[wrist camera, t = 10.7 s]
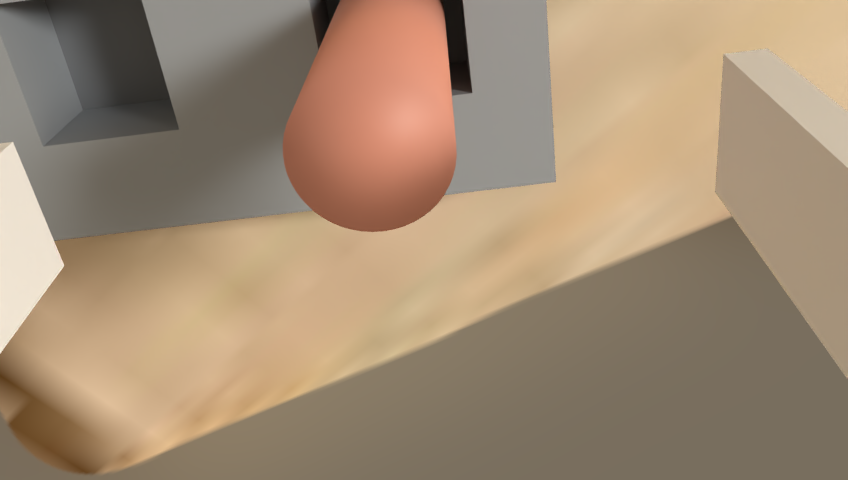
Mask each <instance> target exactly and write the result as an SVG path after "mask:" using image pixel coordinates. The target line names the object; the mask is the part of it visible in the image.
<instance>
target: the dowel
mask: <svg viewBox="0 0 848 480" xmlns="http://www.w3.org/2000/svg"><path fill="white" fill-rule="evenodd" d="M456 157H457V151H456V137H455V126H454V114H453V103H452V92H451V81H450V69H449V58H448V47H447V36H446V24H445V13H444V2H443V0H340V2H339V4H338V6H337V9H336V11H335V13H334V16H333V18H332V20H331V22H330V25H329V27H328V29H327V32H326V34H325V36H324V39H323V41H322V43H321V46H320V48H319V50H318V52H317V55H316V57H315V59H314V62H313V64H312V66H311V69H310V71H309V73H308V76H307V78H306V80H305V82H304V85H303V87H302V89H301V92H300V94H299V96H298V99H297V101H296V103H295V105H294V108H293V110H292V112H291V115H290V117H289V119H288V122H287V124H286V128H285V132H284V137H283V159H284V165H285V169H286V172H287V175H288V177H289V180H290V182H291V184H292V186H293V187H294V189H295V191H296V192H297V194H298V195H299V196H300V198H301V199H302V200H303V201H304V203H306V204H307V205H308V206H309V207H310V208H311V209H312V210H313V211H314V212H316V213H317V214H318V215H320V216H321V217H323V218H325V219H326V220H328V221H330V222H332V223H334V224H337V225H339V226H342V227H345V228H348V229H352V230H358V231H368V232H377V231H387V230H393V229H396V228H400V227H403V226H406V225H408V224H410V223H412V222H414V221H416V220H418V219H419V218H421V217H423V216H424V215H425V214H427V213H428V212H429V211H431V210H432V209H433V208H434V207H435V206H436V205H437V204H438V202H439V201H440V200H441V198H442V197H443V196H444V194H445V193H446V191H447V189H448V187H449V186H450V183H451V180H452V178H453V175H454V171H455V167H456Z"/></svg>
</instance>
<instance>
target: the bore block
mask: <svg viewBox="0 0 848 480" xmlns="http://www.w3.org/2000/svg"><path fill="white" fill-rule="evenodd" d="M339 2H340V0H0V143H7V142H13V143H14V146H15V148H16V151H17V153H18V155H19V158H20V160H21V163H22V165H23V167H24V170H25V172H26V175H27V177H28V179H29V182H30V184H31V187H32V189H33V191H34V194H35V196H36V199H37V201H38V204H39V206H40V208H41V211H42V213H43V216H44V218H45V220H46V223H47V225H48V228H49V230H50V232H51V235H52V237H53V240H54V241H56V240H65V239H73V238H82V237H90V236H99V235H107V234H116V233H124V232H133V231H141V230H150V229H158V228H167V227H176V226H184V225H193V224H201V223H210V222H218V221H227V220H235V219H244V218H252V217H261V216H269V215H278V214H286V213H295V212H303V211H312V209H311V208H310V207H309V206H308V205H307V204H306V203H304V201H303V200H302V199H301V198H300V196H299V195H298V194H297V192H296V191H295V189H294V187H293V186H292V184H291V182H290V180H289V177H288V175H287V172H286V169H285V165H284V159H283V137H284V132H285V128H286V124H287V122H288V119H289V117H290V115H291V112H292V110H293V108H294V105H295V103H296V101H297V99H298V96H299V94H300V92H301V89H302V87H303V85H304V82H305V80H306V78H307V76H308V73H309V71H310V69H311V66H312V64H313V62H314V59H315V57H316V55H317V52H318V50H319V48H320V46H321V43H322V41H323V39H324V36H325V34H326V32H327V29H328V27H329V25H330V22H331V20H332V18H333V16H334V13H335V11H336V9H337V6H338V4H339ZM443 2H444V13H445V24H446V36H447V47H448V58H449V69H450V81H451V92H452V103H453V114H454V126H455V137H456V151H457V157H456V167H455V171H454V175H453V178H452V180H451V183H450V186H449V187H448V189H447V191H446V193H445V194H444V195H448V194H457V193H465V192H474V191H482V190H491V189H499V188H508V187H517V186H525V185H534V184H542V183H551V182H556V173H555V154H554V136H553V117H552V98H551V80H550V61H549V42H548V24H547V5H546V0H443Z"/></svg>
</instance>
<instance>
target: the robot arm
mask: <svg viewBox="0 0 848 480" xmlns="http://www.w3.org/2000/svg"><path fill="white" fill-rule="evenodd" d="M715 192H716V194H717V195H718V197H719V198H720V199H721V201H722V202H723V204H724V205H725V207H726V208H727V209H728V211H729V212H730V214H731V215H732V216H733V218H734V219H735V220H736V222H737V223H738V225H739V226H740V228H741V229H742V231H743V232H744V233H745V235H746V236H747V237H748V239H749V240H750V242H751V243H752V245H753V246H754V247H755V249H756V250H757V252H758V253H759V255H760V256H761V257H762V259H763V260H764V262H765V263H766V264H767V266H768V267H769V269H770V270H771V272H772V273H773V274H774V276H775V277H776V279H777V280H778V281H779V283H780V284H781V286H782V287H783V288H784V290H785V291H786V293H787V294H788V295H789V297H790V298H791V300H792V301H793V303H794V304H795V305H796V307H797V308H798V310H799V311H800V313H801V314H802V315H803V317H804V318H805V320H806V321H807V322H808V324H809V325H810V327H811V328H812V330H813V331H814V332H815V334H816V335H817V337H818V338H819V339H820V341H821V342H822V344H823V345H824V347H825V348H826V349H827V351H828V352H829V354H830V355H831V356H832V358H833V359H834V361H835V362H836V363H837V365H838V366H839V368H840V369H841V371H842V372H843V373H844V375H845V376H846V378H847V379H848V111H846V110H845V109H844V108H843V107H841V106H840V105H839V104H838V103H836V102H835V101H834V100H832V99H831V98H830V97H829V96H827V95H826V94H825V93H824V92H822V91H821V90H820V89H818V88H817V87H816V86H815V85H813V84H812V83H811V82H809V81H808V80H807V79H806V78H804V77H803V76H802V75H801V74H799V73H798V72H797V71H795V70H794V69H793V68H792V67H790V66H789V65H788V64H787V63H785V62H784V61H783V60H781V59H780V58H779V57H778V56H776V55H775V54H774V53H773V52H771V51H770V50H769V49H760V50H752V51H744V52H736V53H727V54H724V55H723V72H722V89H721V105H720V122H719V139H718V155H717V172H716V189H715ZM63 267H64V264H63V261H62V259H61V257H60V254H59V252H58V249H57V247H56V245H55V242H54V240H53V237H52V235H51V232H50V230H49V228H48V225H47V223H46V220H45V218H44V216H43V213H42V211H41V208H40V206H39V204H38V201H37V199H36V196H35V194H34V191H33V189H32V187H31V184H30V182H29V179H28V177H27V175H26V172H25V170H24V167H23V165H22V163H21V160H20V158H19V155H18V153H17V151H16V148H15V146H14V143H13V142H7V143H0V353H1V352H2V350H3V349H4V348H5V346H6V345H7V344H8V342H9V341H10V339H11V338H12V337H13V335H14V334H15V333H16V331H17V330H18V328H19V327H20V326H21V324H22V323H23V322H24V320H25V319H26V318H27V316H28V315H29V313H30V312H31V311H32V309H33V308H34V307H35V305H36V304H37V302H38V301H39V300H40V298H41V297H42V296H43V294H44V293H45V292H46V290H47V289H48V287H49V286H50V285H51V283H52V282H53V281H54V279H55V278H56V277H57V275H58V274H59V272H60V271H61V270H62V268H63Z"/></svg>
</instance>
